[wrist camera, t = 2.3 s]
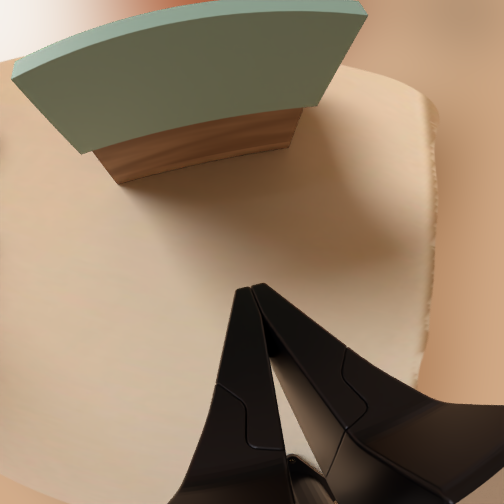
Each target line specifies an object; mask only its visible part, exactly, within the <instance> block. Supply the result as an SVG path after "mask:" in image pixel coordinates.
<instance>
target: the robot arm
mask: <svg viewBox="0 0 504 504" xmlns="http://www.w3.org/2000/svg"><path fill="white" fill-rule="evenodd" d="M270 363H271V364H270ZM271 365H272V367H273V370H274V372H275V374H276V376H277V378H278V380H279V383H280V385H281V387H282V389H283V391H284V393H285V395H286V398H287V400H288V402H289V404H290V406H291V408H292V410H293V413H294V415H295V417H296V419H297V421H298V423H299V425H300V427H301V429H302V431H303V434H304V436H305V438H306V440H307V442H308V444H309V446H310V448H311V450H312V452H313V454H314V456H315V458H316V460H317V462H318V465H319V467H320V469H321V471H322V473H323V475H324V476H323V475H321V474H320V473H319V472H317V471H316V470H315V469H313V468H312V467H311V466H309V465H308V464H307V463H306V462H304V461H303V460H302V459H300V458H299V457H298V456H297V455H295V454H289V455H287V456H286V452H285V445H284V439H283V434H282V428H281V422H280V416H279V410H278V405H277V399H276V393H275V387H274V381H273V376H272V370H271ZM290 459H294V461H293V462H289V460H290ZM335 500H336V501H337V503H338V504H504V405H472V404H454V403H446V402H441V401H438V400H435V399H433V398H430V397H428V396H426V395H424V394H422V393H421V392H419V391H417V390H415V389H413V388H412V387H410V386H408V385H406V384H405V383H403V382H401V381H399V380H397V379H396V378H394V377H392V376H390V375H389V374H387V373H385V372H384V371H382V370H380V369H379V368H377V367H376V366H374V365H372V364H371V363H370V362H368V361H367V360H365V359H364V358H362V357H361V356H360V355H358V354H357V353H356V352H354V351H353V350H352V349H350V348H349V347H347V346H346V345H345V344H344V343H342V342H341V341H340V340H338V339H337V338H336V337H334V336H333V335H332V334H330V333H329V332H328V331H327V330H325V329H324V328H323V327H321V326H320V325H319V324H317V323H316V322H315V321H313V320H312V319H311V318H310V317H308V316H307V315H306V314H304V313H303V312H302V311H300V310H299V309H298V308H297V307H295V306H294V305H293V304H291V303H290V302H289V301H288V300H286V299H285V298H284V297H282V296H281V295H280V294H278V293H277V292H276V291H275V290H273V289H272V288H271V287H269V286H268V285H267V284H266V283H260V284H256V285H252V286H251V288H250V287H244V288H239V289H237V290H236V291H235V295H234V299H233V304H232V308H231V313H230V318H229V322H228V327H227V332H226V336H225V341H224V346H223V351H222V355H221V360H220V365H219V369H218V374H217V379H216V385H215V388H214V392H213V397H212V401H211V405H210V409H209V413H208V416H207V419H206V422H205V425H204V428H203V431H202V434H201V437H200V439H199V442H198V445H197V447H196V450H195V453H194V455H193V458H192V460H191V463H190V466H189V468H188V471H187V473H186V476H185V478H184V480H183V482H182V484H181V486H180V488H179V489H178V491H177V492H176V494H175V495H174V496H173V498H172V499H171V500H170V501H169V502H168V504H334V501H335Z"/></svg>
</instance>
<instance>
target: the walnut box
mask: <svg viewBox="0 0 504 504" xmlns="http://www.w3.org/2000/svg"><path fill="white" fill-rule="evenodd" d="M303 108H304V107H302V108H292V109H284V110H276V111H268V112H261V113H254V114H247V115H241V116H235V117H229V118H223V119H218V120H212V121H207V122H202V123H197V124H192V125H188V126H183V127H178V128H174V129H170V130H165V131H161V132H157V133H153V134H149V135H145V136H142V137H138V138H134V139H130V140H127V141H123V142H120V143H116V144H113V145H110V146H106V147H103V148H100V149H97V150H94V151H93V153H94V154H95V155H96V157H97V158H98V159H99V161H100V162H101V163H102V165H103V166H104V167H105V169H106V170H107V171H108V173H109V174H110V175H111V177H112V178H113V179H114V180H115V182H116V183H117V184H120V183H124V182H127V181H131V180H135V179H138V178H142V177H146V176H150V175H154V174H158V173H162V172H166V171H170V170H174V169H179V168H183V167H187V166H192V165H196V164H201V163H206V162H210V161H215V160H220V159H225V158H230V157H236V156H241V155H246V154H252V153H257V152H263V151H269V150H275V149H282V148H288V147H289V145H290V142H291V140H292V137H293V134H294V132H295V129H296V126H297V124H298V121H299V119H300V116H301V113H302V111H303Z"/></svg>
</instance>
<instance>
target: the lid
mask: <svg viewBox="0 0 504 504" xmlns="http://www.w3.org/2000/svg"><path fill="white" fill-rule="evenodd" d="M367 17H368V14H367V13H366V11H365V10H364V8H363V7H362V5H361V4H360V3H359V1H353V0H219V1H211V2H203V3H196V4H190V5H184V6H178V7H173V8H167V9H163V10H158V11H153V12H149V13H145V14H141V15H137V16H133V17H129V18H126V19H122V20H118V21H115V22H112V23H108V24H106V25H102V26H99V27H96V28H93V29H90V30H88V31H84V32H82V33H79V34H76V35H74V36H71V37H68V38H66V39H63V40H61V41H59V42H56V43H54V44H51V45H49V46H47V47H44V48H42V49H40V50H38V51H36V52H34V53H32V54H29V55H27V56H25V57H23V58H21V59H19V60H17V61H15V63H14V68H13V72H12V77H11V80H12V81H13V82H14V83H15V84H16V85H17V87H18V88H19V89H20V90H21V91H22V92H23V93H24V94H25V96H26V97H27V98H28V99H29V100H30V101H31V102H32V103H33V104H34V105H35V106H36V108H37V109H38V110H39V111H40V112H41V113H42V114H43V115H44V116H45V117H46V118H47V119H48V120H49V122H50V123H51V124H52V125H53V126H54V127H55V128H56V129H57V130H58V131H59V132H60V133H61V134H62V135H63V136H64V137H65V138H66V139H67V141H68V142H69V143H70V144H71V145H72V146H73V147H74V148H75V149H76V150H77V151H78V152H79V153H80V154H84V153H87V152H90V151H94V150H97V149H100V148H103V147H106V146H110V145H113V144H116V143H120V142H123V141H127V140H130V139H134V138H138V137H142V136H145V135H149V134H153V133H157V132H161V131H165V130H170V129H174V128H178V127H183V126H188V125H192V124H197V123H202V122H207V121H212V120H218V119H223V118H229V117H235V116H241V115H247V114H254V113H261V112H268V111H276V110H284V109H292V108H302V107H313V106H317V105H318V103H319V101H320V100H321V98H322V96H323V94H324V92H325V91H326V89H327V87H328V85H329V84H330V82H331V80H332V78H333V76H334V75H335V73H336V71H337V69H338V68H339V66H340V64H341V62H342V60H343V59H344V57H345V55H346V53H347V52H348V50H349V48H350V46H351V44H352V43H353V41H354V39H355V38H356V36H357V34H358V32H359V30H360V29H361V27H362V25H363V24H364V22H365V20H366V18H367Z"/></svg>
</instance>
